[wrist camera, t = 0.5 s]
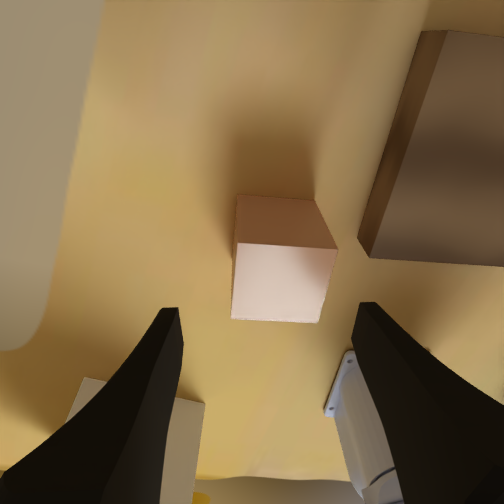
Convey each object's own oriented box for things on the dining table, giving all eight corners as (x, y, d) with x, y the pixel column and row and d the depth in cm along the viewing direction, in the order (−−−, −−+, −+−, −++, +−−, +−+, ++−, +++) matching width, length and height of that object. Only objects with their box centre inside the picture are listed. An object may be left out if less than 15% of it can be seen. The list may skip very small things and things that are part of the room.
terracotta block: (300, 263, 24) (317, 322, 19) (232, 259, 24) (230, 318, 19) (314, 200, 21) (338, 249, 16) (237, 194, 21) (237, 242, 16)
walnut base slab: (517, 249, 24) (544, 269, 22) (357, 238, 23) (369, 258, 21) (635, 59, 18) (689, 61, 16) (421, 31, 17) (448, 30, 15)
